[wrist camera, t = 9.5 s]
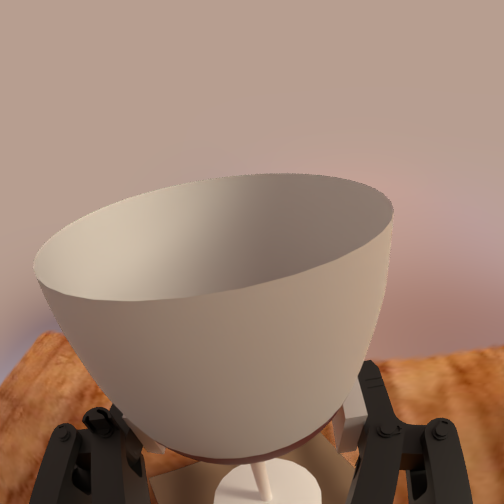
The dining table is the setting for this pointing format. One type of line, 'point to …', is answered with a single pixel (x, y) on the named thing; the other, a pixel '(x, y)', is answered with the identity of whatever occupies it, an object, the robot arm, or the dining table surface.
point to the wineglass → (227, 315)
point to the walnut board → (210, 475)
